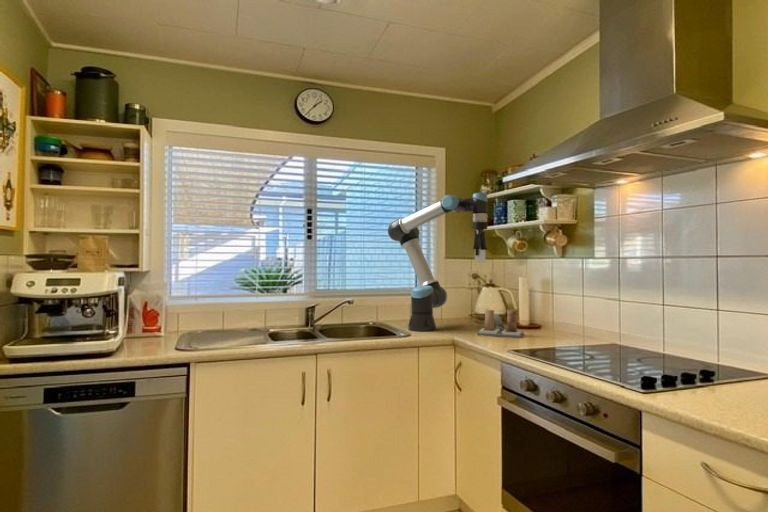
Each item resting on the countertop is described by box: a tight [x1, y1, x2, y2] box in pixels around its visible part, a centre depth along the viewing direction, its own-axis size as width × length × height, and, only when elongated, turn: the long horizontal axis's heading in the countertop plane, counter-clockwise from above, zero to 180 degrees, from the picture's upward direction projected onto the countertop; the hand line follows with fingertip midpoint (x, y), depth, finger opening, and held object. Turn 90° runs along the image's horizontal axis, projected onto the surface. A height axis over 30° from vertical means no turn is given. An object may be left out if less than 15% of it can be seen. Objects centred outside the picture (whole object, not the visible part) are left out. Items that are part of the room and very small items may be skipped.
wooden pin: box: [506, 310, 518, 332], centre depth 219 cm, size 4×4×11 cm
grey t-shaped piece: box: [476, 309, 525, 339], centre depth 221 cm, size 21×12×12 cm, turn 66°
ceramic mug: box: [483, 313, 506, 331], centre depth 239 cm, size 11×8×8 cm
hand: (480, 261), depth 234 cm, fingers open, 13 cm apart
